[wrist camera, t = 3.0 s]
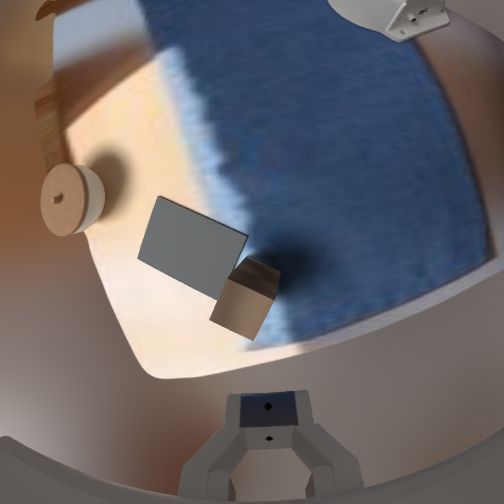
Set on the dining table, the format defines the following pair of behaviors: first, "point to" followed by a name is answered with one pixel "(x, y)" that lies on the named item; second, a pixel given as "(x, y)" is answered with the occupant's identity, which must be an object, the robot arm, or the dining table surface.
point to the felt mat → (190, 247)
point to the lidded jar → (71, 199)
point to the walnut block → (246, 298)
